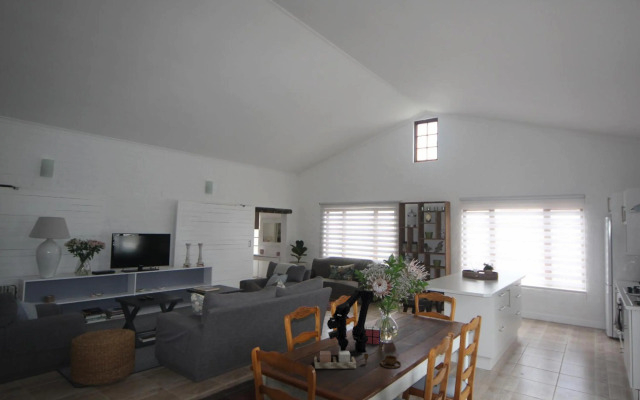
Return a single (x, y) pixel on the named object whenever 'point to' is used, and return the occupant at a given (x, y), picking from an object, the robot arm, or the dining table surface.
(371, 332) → the puzzle cube
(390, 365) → the place setting
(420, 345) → the dining table surface
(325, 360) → the terracotta block
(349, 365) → the shelf
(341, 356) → the tethered block
